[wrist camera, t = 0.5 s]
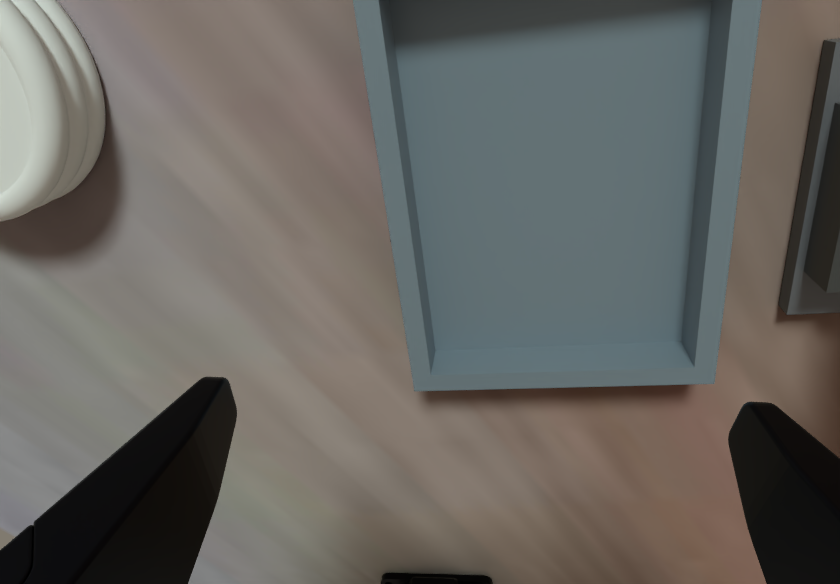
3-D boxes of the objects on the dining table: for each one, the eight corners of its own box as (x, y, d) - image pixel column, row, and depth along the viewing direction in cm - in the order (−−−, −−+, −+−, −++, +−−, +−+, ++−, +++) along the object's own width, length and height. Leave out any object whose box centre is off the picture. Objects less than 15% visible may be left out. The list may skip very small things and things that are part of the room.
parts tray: (695, 349, 25) (714, 383, 23) (421, 358, 27) (414, 391, 25) (741, -88, 18) (773, -98, 16) (364, -32, 20) (348, -33, 18)
